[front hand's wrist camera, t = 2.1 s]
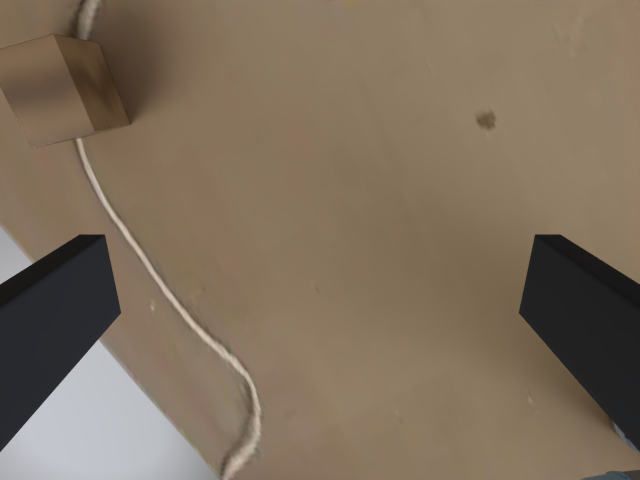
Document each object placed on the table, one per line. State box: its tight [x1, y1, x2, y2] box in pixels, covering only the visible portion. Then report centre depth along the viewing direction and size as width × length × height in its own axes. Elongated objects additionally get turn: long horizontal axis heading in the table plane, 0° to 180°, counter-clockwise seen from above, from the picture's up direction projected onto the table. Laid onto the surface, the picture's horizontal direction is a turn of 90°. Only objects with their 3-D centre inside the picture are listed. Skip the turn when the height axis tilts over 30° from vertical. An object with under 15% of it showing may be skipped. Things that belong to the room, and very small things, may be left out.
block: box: [0, 34, 130, 148], centre depth 38 cm, size 8×6×7 cm
